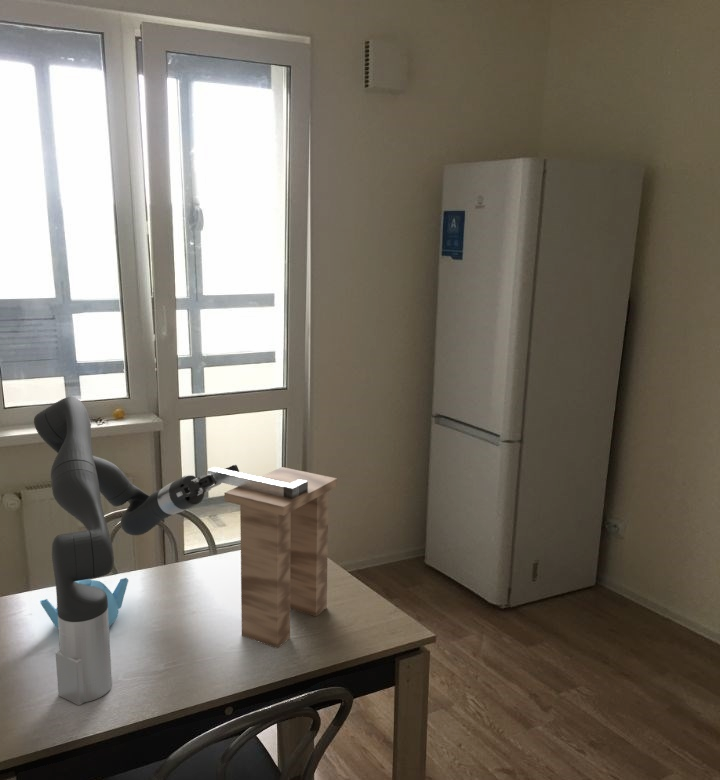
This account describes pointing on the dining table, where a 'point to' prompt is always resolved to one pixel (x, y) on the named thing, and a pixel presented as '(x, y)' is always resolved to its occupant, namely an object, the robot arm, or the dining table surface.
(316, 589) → the shelf
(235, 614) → the dining table surface
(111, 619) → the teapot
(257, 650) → the dining table surface
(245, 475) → the crook tool
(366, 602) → the dining table surface
